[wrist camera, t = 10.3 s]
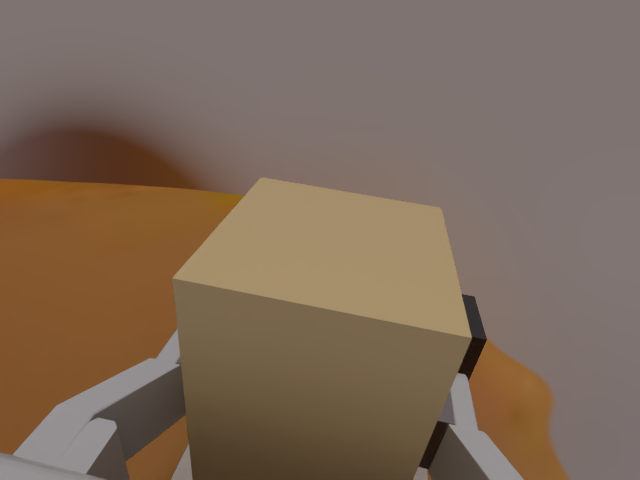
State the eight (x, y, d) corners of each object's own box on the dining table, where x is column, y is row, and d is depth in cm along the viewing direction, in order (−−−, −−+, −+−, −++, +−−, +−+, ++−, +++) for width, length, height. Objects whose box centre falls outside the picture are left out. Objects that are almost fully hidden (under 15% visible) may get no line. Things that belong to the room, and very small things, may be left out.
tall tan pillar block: (201, 565, 11) (172, 277, 6) (252, 423, 15) (261, 177, 10) (359, 608, 11) (471, 338, 6) (369, 451, 14) (441, 207, 9)
